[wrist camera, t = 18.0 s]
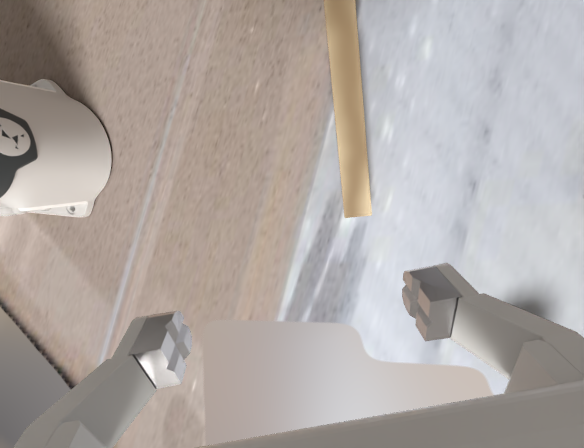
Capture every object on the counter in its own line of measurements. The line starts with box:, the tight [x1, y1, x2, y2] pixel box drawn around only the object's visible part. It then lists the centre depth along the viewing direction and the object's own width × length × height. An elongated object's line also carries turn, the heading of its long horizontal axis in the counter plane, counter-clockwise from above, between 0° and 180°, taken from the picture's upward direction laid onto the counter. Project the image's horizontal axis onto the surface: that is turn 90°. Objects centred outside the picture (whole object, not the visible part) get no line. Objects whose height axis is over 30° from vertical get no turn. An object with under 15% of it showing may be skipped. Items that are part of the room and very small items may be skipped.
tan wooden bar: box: [324, 0, 372, 218], centre depth 30 cm, size 3×24×3 cm, turn 8°
